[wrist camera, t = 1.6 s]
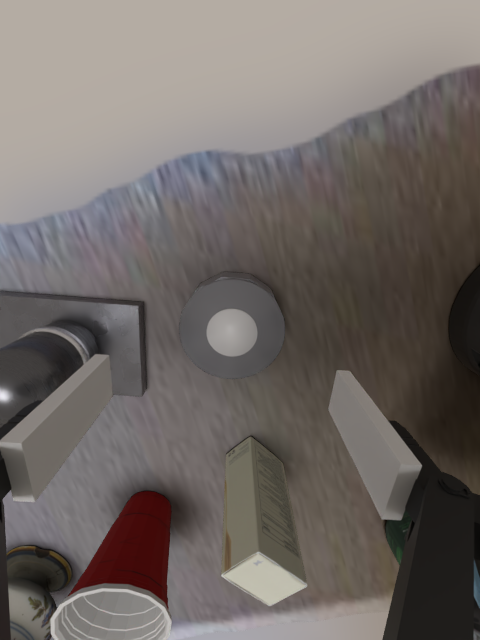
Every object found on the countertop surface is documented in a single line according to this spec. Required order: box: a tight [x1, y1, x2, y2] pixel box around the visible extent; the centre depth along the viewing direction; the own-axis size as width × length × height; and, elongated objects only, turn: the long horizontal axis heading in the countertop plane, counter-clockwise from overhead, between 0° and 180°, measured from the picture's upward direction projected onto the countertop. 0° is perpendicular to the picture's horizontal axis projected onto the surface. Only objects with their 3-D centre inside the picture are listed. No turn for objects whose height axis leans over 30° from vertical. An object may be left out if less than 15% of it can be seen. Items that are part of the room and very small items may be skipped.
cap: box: [179, 272, 285, 379], centre depth 25 cm, size 9×9×4 cm
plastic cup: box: [50, 491, 172, 640], centre depth 30 cm, size 11×11×12 cm
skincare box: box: [221, 437, 307, 606], centre depth 28 cm, size 6×4×12 cm
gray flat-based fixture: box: [0, 291, 147, 427], centre depth 23 cm, size 14×10×10 cm
